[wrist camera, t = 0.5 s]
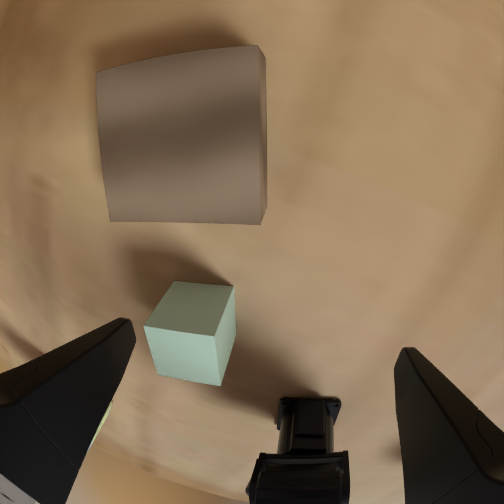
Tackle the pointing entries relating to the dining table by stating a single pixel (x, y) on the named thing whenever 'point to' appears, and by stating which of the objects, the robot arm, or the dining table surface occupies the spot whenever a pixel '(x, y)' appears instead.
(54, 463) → the robot arm
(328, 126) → the dining table surface
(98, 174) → the dining table surface
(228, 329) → the green block
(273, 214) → the dining table surface
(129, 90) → the walnut base
